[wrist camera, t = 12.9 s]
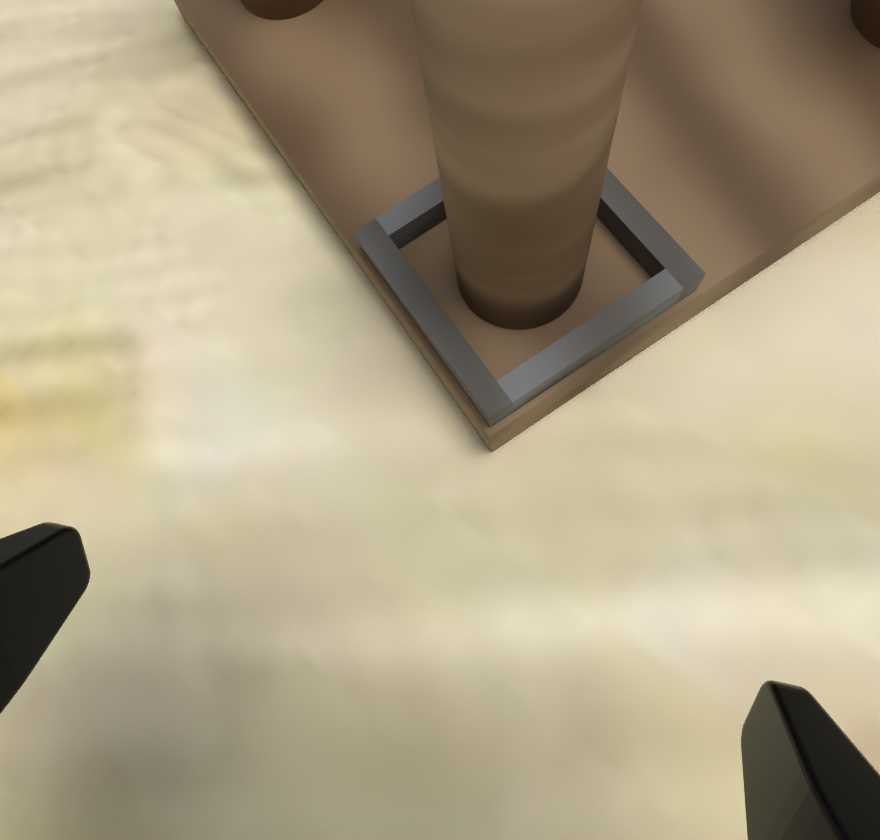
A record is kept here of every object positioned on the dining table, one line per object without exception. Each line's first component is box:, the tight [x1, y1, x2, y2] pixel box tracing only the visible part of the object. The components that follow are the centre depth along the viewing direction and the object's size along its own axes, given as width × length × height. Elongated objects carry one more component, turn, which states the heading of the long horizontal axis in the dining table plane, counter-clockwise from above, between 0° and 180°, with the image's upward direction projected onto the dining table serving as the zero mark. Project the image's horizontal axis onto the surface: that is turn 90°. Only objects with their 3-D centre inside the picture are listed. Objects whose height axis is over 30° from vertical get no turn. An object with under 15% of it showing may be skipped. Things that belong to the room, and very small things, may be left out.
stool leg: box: [409, 0, 642, 330], centre depth 14 cm, size 4×4×13 cm
